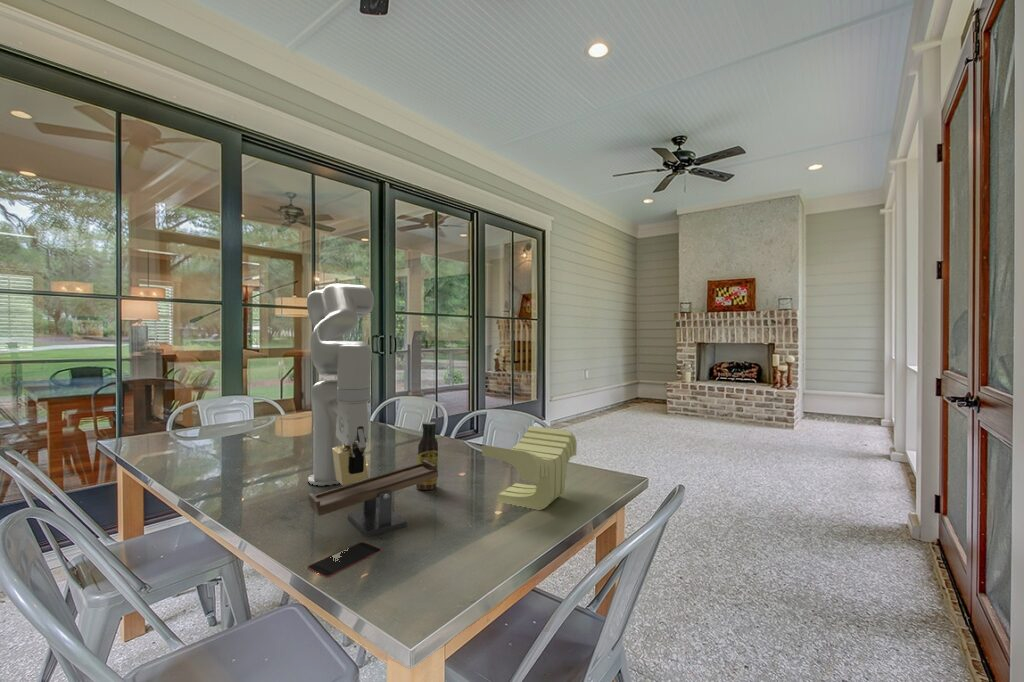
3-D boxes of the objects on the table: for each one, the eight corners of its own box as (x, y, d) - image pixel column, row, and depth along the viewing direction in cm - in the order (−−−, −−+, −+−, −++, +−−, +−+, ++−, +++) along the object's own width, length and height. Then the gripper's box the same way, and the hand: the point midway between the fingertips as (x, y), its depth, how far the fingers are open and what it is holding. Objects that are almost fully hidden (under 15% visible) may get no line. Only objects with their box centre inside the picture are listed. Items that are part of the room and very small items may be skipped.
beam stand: (347, 518, 117) (348, 483, 117) (385, 509, 123) (386, 476, 123) (366, 536, 107) (366, 498, 106) (406, 526, 113) (407, 489, 112)
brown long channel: (309, 507, 109) (307, 492, 108) (424, 472, 127) (423, 458, 127) (318, 519, 102) (317, 503, 102) (438, 479, 121) (437, 465, 120)
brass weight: (336, 479, 112) (332, 448, 111) (360, 471, 116) (356, 441, 114) (342, 486, 108) (338, 453, 107) (367, 477, 112) (363, 446, 110)
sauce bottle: (419, 492, 137) (420, 425, 136) (413, 486, 142) (414, 421, 142) (440, 489, 140) (441, 423, 139) (434, 483, 145) (434, 420, 145)
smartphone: (383, 549, 100) (327, 577, 89) (383, 552, 100) (327, 580, 89) (362, 540, 104) (305, 566, 92) (362, 543, 104) (305, 569, 92)
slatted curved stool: (535, 524, 115) (537, 453, 115) (481, 511, 123) (482, 445, 122) (575, 488, 142) (576, 431, 142) (528, 480, 149) (529, 425, 149)
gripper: (327, 390, 115) (326, 462, 116) (349, 402, 102) (348, 483, 103) (357, 388, 120) (355, 457, 121) (382, 399, 106) (380, 477, 107)
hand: (352, 468), depth 112 cm, fingers closed on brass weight, 5 cm apart
